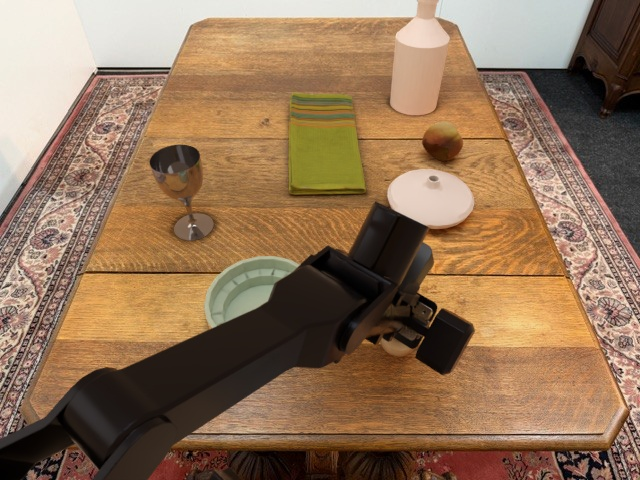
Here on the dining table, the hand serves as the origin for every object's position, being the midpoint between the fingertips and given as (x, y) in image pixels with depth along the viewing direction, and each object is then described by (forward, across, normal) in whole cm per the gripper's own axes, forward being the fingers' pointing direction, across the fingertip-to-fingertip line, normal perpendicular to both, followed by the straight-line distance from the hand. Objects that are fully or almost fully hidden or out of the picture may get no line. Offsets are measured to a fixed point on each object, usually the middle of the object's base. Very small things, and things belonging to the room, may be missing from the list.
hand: (409, 306), depth 61 cm
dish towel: (+30, +41, -17) cm, 53 cm away
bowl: (0, +18, +13) cm, 22 cm away
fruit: (+38, +18, -25) cm, 49 cm away
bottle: (+49, +35, -36) cm, 70 cm away
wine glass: (+5, +43, +8) cm, 44 cm away
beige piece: (+4, 0, +6) cm, 7 cm away
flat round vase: (+26, +12, -14) cm, 32 cm away
